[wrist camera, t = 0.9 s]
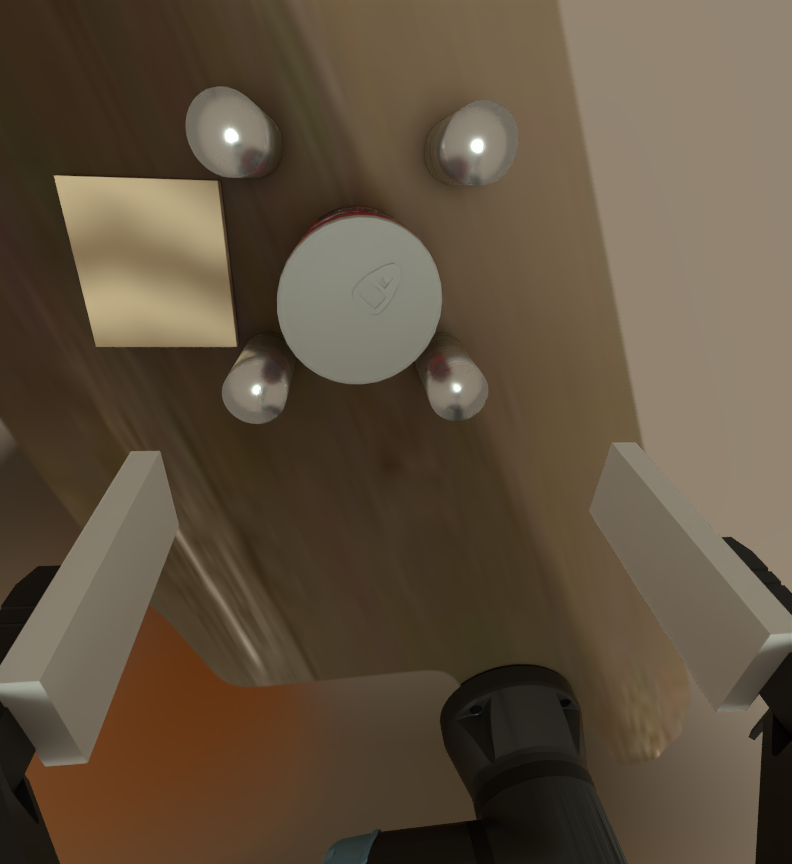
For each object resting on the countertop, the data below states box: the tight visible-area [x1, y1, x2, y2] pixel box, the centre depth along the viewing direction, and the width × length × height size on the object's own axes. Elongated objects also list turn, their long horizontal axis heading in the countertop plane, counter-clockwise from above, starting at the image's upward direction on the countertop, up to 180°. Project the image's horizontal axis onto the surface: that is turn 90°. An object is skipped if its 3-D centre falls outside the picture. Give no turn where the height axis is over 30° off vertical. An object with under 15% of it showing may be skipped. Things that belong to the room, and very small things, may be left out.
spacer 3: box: [424, 100, 519, 186], centre depth 27 cm, size 4×4×7 cm
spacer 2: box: [222, 332, 296, 424], centre depth 32 cm, size 4×4×7 cm
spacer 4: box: [415, 333, 488, 421], centre depth 33 cm, size 4×4×7 cm
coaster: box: [54, 176, 239, 347], centre depth 31 cm, size 10×9×1 cm
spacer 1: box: [186, 87, 283, 178], centre depth 26 cm, size 4×4×7 cm
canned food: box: [277, 206, 442, 384], centre depth 28 cm, size 8×8×11 cm
